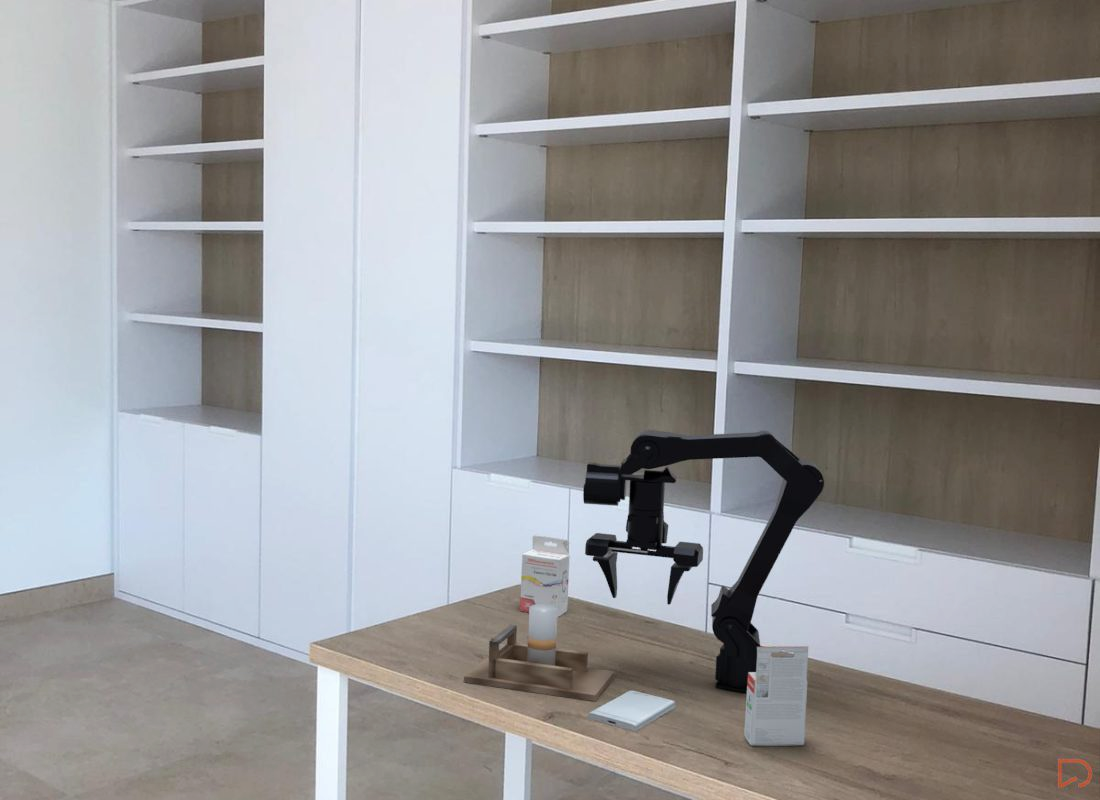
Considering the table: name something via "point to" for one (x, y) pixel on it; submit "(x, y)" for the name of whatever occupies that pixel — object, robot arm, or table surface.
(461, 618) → the table surface
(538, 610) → the white capped grey cylinder
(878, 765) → the table surface
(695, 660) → the table surface
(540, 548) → the ink cartridge box
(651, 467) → the robot arm
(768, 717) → the ink box
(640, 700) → the hard drive
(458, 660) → the table surface
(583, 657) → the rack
